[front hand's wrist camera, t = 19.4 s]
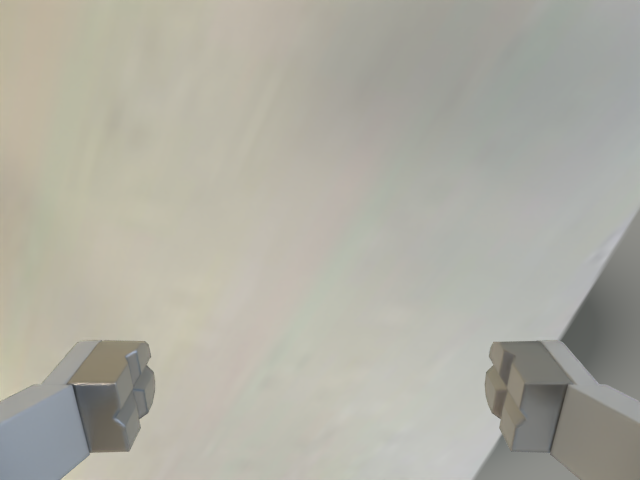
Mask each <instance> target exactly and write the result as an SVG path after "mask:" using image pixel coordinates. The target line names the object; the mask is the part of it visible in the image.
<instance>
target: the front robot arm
mask: <svg viewBox="0 0 640 480" xmlns="http://www.w3.org/2000/svg"><path fill="white" fill-rule="evenodd" d="M150 358H151V354H150V349H149V345H148V344H147V343H146V342H145V341H110V340H104V341H102V340H83V341H79V342H77V343H76V344H75V345H74V347H73V348H72V349H71V350H70V351H69V352H68V353H67V355H66V356H65V357H64V358H63V359H62V360H61V362H60V363H59V364H58V365H57V366H56V367H55V368H54V370H53V371H52V372H51V373H50V374H49V375H48V377H47V378H46V379H45V380H44V381H43V382H42V383H41V385H32V386H30V387H28V388H26V389H24V390H22V391H20V392H18V393H16V394H14V395H12V396H10V397H8V398H6V399H4V400H2V401H0V480H60V479H61V478H63V477H64V476H65V475H66V474H67V473H69V472H70V471H71V470H72V469H73V468H75V467H76V466H77V465H78V464H79V463H80V462H82V461H83V460H84V459H85V458H86V457H88V456H89V455H90V453H93V452H128V451H130V449H131V447H132V445H133V443H134V441H135V439H136V437H137V434H138V432H139V430H140V428H141V427H140V421H139V419H140V418H142V417H143V416H145V415H146V414H147V413H148V412H149V410H150V408H151V405H152V403H153V398H154V393H155V377H154V372H153V371H152V370H151V369H150V368H149V367H148V366H147V363H148V361H149V359H150ZM489 358H490V359H491V361H492V363H493V366H492V367H491V368H490V369H489V370H488V371H487V372H486V378H485V393H486V399H487V402H488V405H489V408H490V410H491V412H492V413H493V414H494V415H495V416H497V417H498V418H500V419H501V421H500V427H499V428H500V430H501V432H502V434H503V436H504V438H505V440H506V443H507V445H508V447H509V449H510V450H511V452H547V453H550V455H551V456H553V457H554V458H555V459H556V460H557V461H559V462H560V463H561V464H562V465H563V466H565V467H566V468H567V469H568V470H569V471H570V472H572V473H573V474H574V475H575V476H576V477H577V478H579V479H580V480H640V401H638V400H636V399H634V398H632V397H630V396H628V395H626V394H624V393H622V392H620V391H618V390H616V389H614V388H612V387H610V386H608V385H599V383H598V382H597V381H596V380H595V379H594V378H593V377H592V375H591V374H590V373H589V372H588V371H587V370H586V368H585V367H584V366H583V365H582V364H581V363H580V362H579V360H578V359H577V358H576V357H575V356H574V355H573V354H572V352H571V351H570V350H569V349H568V348H567V347H566V345H565V344H564V343H563V342H561V341H559V340H542V341H513V342H493V344H492V346H491V348H490V354H489Z"/></svg>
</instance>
